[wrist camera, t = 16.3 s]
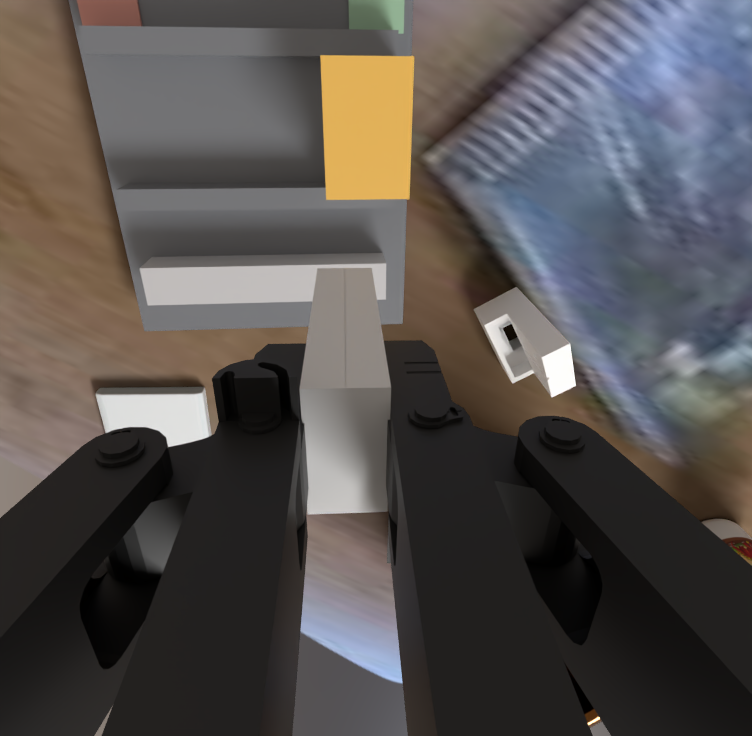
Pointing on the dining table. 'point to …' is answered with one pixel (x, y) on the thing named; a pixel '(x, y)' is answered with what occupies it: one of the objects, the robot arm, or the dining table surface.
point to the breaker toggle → (367, 126)
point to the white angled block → (527, 342)
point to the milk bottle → (732, 536)
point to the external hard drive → (157, 411)
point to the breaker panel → (235, 154)
